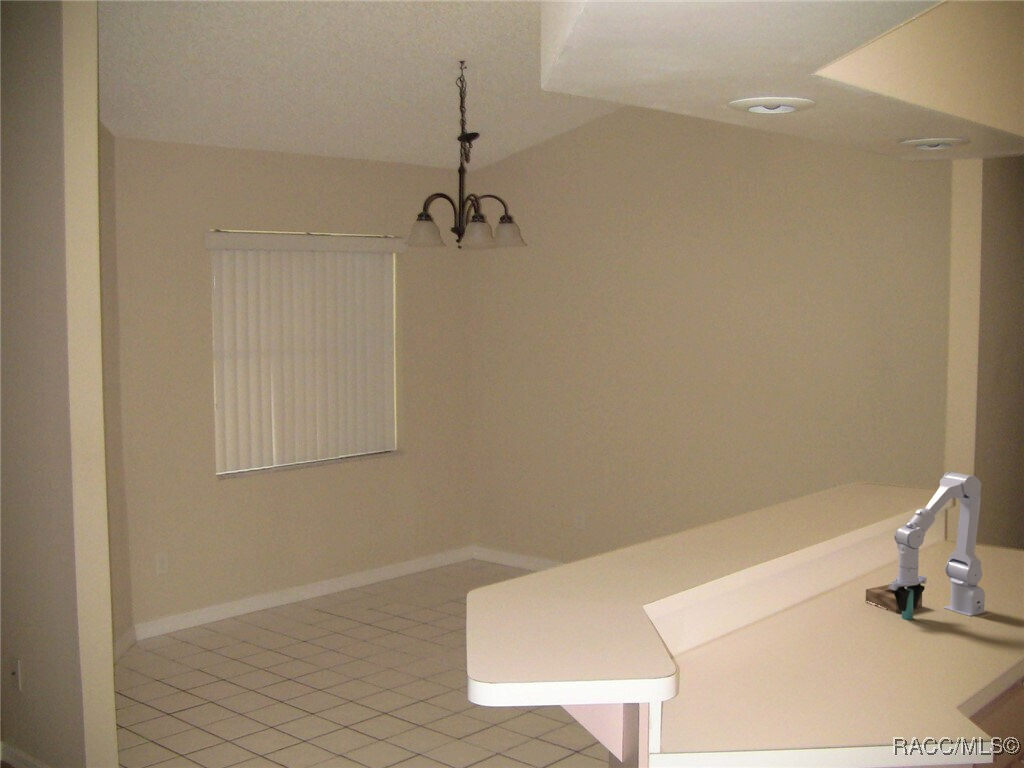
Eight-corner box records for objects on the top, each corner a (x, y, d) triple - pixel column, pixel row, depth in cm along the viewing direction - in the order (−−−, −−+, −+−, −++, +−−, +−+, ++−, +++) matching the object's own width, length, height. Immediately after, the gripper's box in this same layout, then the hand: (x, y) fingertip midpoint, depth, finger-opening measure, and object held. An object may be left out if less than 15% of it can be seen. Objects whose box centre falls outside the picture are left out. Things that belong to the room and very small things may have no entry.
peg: (915, 618, 291) (915, 590, 290) (908, 620, 289) (908, 592, 288) (906, 616, 293) (907, 587, 293) (899, 617, 292) (899, 589, 291)
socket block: (921, 607, 302) (922, 593, 301) (896, 613, 296) (896, 599, 296) (891, 597, 312) (891, 583, 312) (865, 602, 307) (865, 589, 306)
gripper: (913, 559, 297) (912, 601, 298) (881, 566, 290) (880, 609, 291) (932, 565, 291) (931, 607, 292) (900, 571, 284) (899, 615, 285)
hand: (907, 609), depth 291 cm, fingers open, 4 cm apart
